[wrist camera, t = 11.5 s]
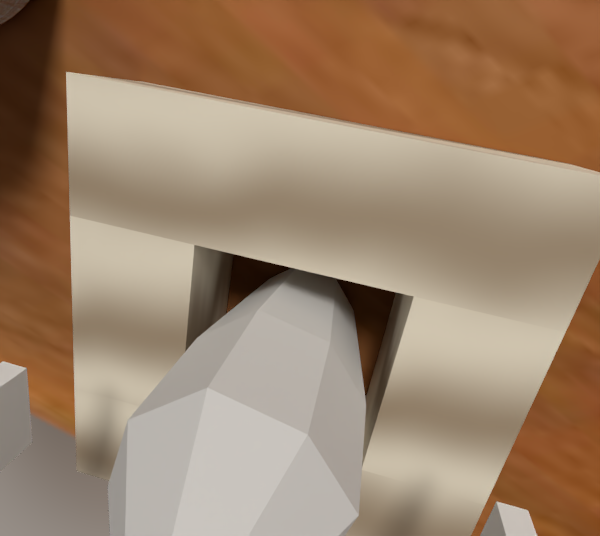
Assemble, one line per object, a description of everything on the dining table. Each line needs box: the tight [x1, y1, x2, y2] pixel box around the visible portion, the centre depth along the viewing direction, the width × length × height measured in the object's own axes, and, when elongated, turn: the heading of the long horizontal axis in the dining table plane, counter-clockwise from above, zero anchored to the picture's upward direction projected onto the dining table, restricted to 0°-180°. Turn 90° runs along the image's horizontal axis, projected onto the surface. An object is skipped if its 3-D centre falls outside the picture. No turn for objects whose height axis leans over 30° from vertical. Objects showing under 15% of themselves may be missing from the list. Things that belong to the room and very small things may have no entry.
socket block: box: [66, 72, 600, 536], centre depth 19 cm, size 18×18×5 cm
